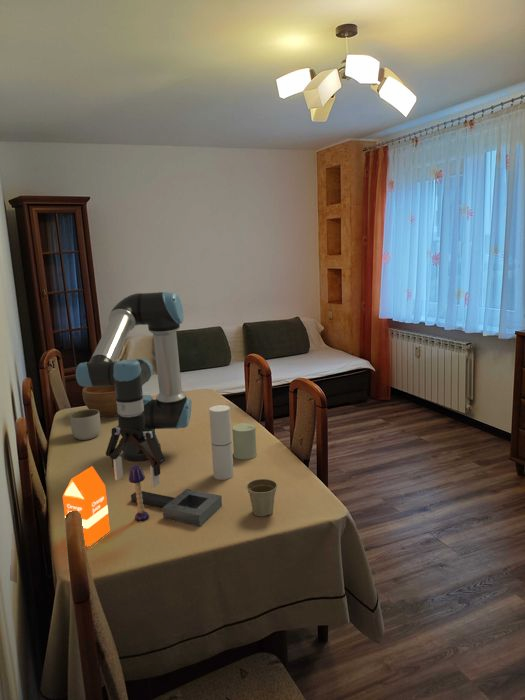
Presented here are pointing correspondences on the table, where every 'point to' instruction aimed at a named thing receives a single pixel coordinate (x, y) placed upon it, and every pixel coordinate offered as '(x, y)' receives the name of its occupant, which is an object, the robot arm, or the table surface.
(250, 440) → the can
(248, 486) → the flower pot
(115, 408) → the bowl
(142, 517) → the toy lamp
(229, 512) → the table surface
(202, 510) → the block
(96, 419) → the planter
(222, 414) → the cylindrical container
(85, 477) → the orange juice
